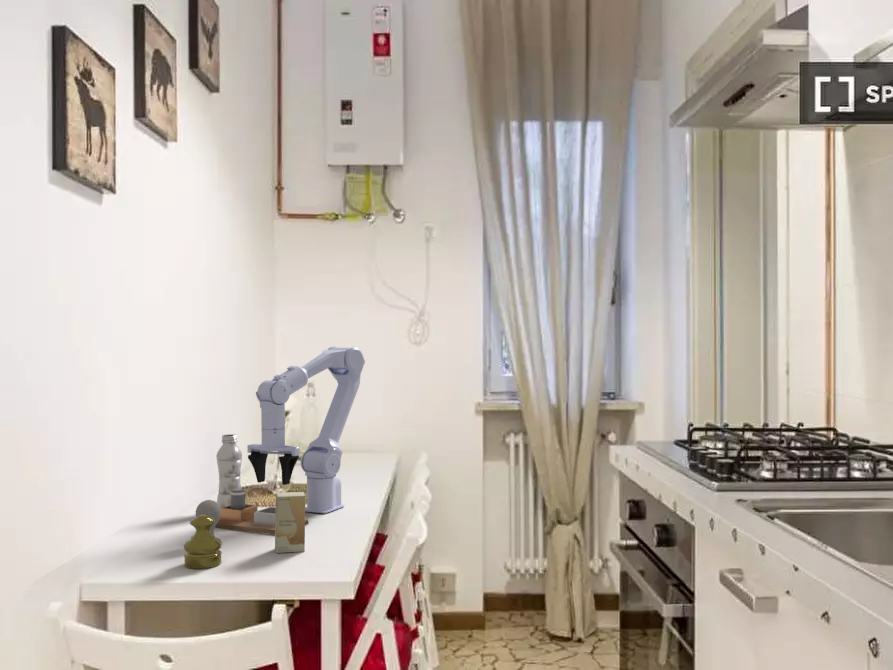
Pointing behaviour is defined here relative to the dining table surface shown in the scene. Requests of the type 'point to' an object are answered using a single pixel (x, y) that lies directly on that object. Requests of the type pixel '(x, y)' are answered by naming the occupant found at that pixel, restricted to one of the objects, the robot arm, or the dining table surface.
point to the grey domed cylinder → (238, 499)
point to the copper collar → (238, 513)
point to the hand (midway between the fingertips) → (273, 483)
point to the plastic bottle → (228, 469)
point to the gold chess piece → (202, 545)
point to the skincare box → (290, 522)
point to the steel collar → (265, 517)
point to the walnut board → (248, 526)
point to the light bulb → (209, 511)
